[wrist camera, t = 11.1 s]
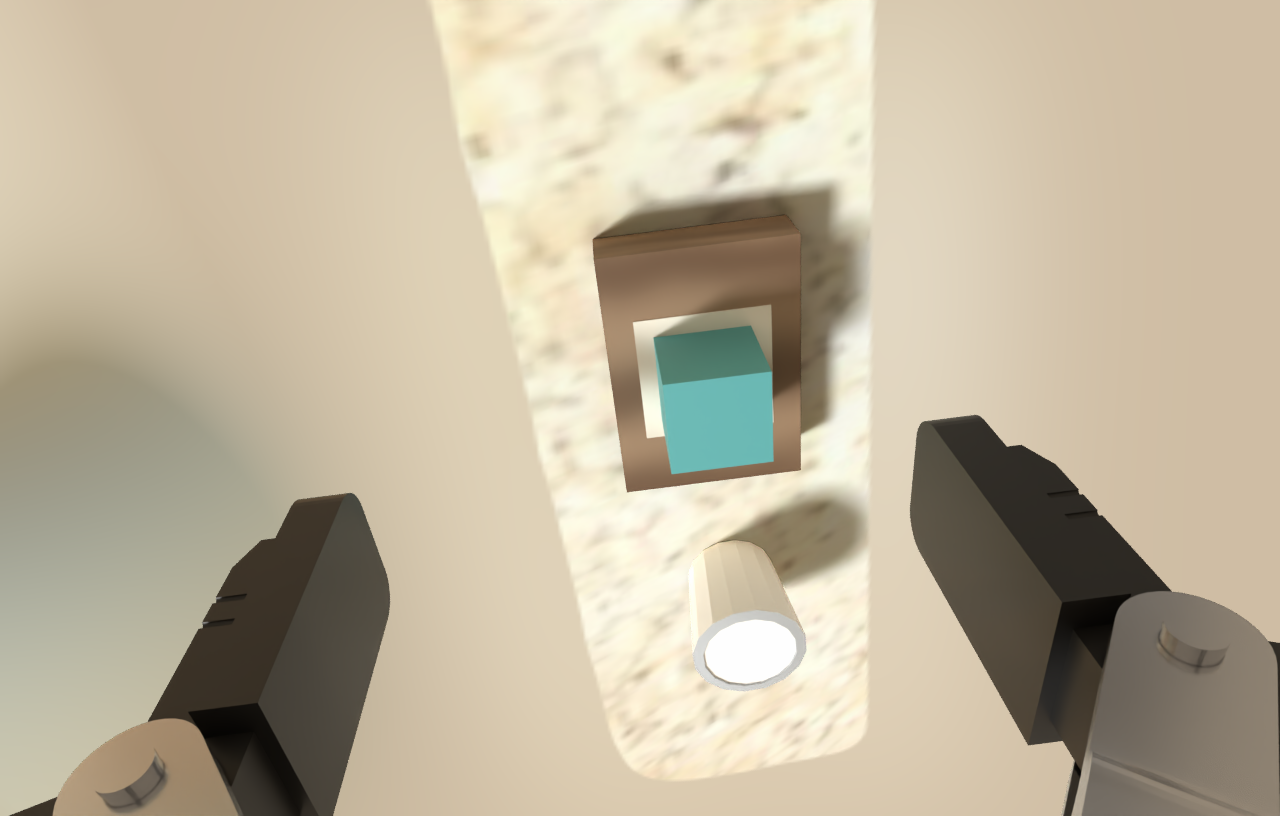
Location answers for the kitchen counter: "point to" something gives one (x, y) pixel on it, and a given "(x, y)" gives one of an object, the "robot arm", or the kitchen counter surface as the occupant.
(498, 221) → the kitchen counter surface
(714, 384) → the teal cube
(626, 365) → the walnut plinth
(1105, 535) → the robot arm
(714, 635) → the white tapered cup
